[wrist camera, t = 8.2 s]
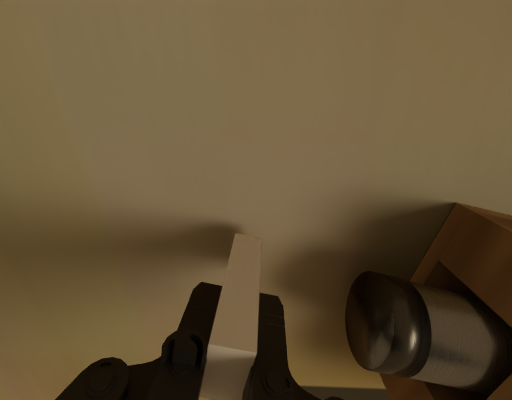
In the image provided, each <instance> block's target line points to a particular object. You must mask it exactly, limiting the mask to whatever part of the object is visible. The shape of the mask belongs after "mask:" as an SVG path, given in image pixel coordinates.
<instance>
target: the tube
mask: <svg viewBox="0 0 512 400" xmlns="http://www.w3.org/2000/svg"><path fill="white" fill-rule="evenodd" d="M345 324H346V333H347V339H348V343H349V346H350V349H351V352H352V354H353V356H354V358H355V359H356V361H357V362H358V363H359V365H361V366H362V367H363V368H364V369H367V370H370V371H374V372H379V373H384V374H388V375H393V376H397V377H402V378H412V379H417V380H421V381H426V382H431V383H435V384H440V385H444V386H449V387H453V388H458V389H462V390H467V391H472V392H476V393H481V394H485V395H491V394H492V393H493V392H494V391H495V390H496V389H497V388H498V387H499V386H500V385H501V384H502V383H503V382H504V381H505V380H506V379H507V378H508V377H509V376H510V375H511V374H512V327H511V326H509V325H508V324H507V323H506V322H505V321H504V320H503V319H502V318H501V317H500V316H499V315H498V314H496V313H495V312H494V311H493V310H492V309H491V308H490V307H489V306H488V305H487V304H486V303H485V302H483V301H482V300H481V299H480V298H479V297H475V296H471V295H467V294H462V293H458V292H454V291H449V290H445V289H441V288H436V287H432V286H428V285H423V284H419V283H415V282H410V281H407V280H404V279H402V278H397V277H393V276H389V275H384V274H380V273H376V272H371V271H366V272H363V273H362V274H360V275H359V276H358V277H357V278H356V280H355V281H354V283H353V284H352V286H351V289H350V291H349V295H348V298H347V304H346V313H345Z"/></svg>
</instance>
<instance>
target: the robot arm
mask: <svg viewBox="0 0 512 400" xmlns="http://www.w3.org/2000/svg"><path fill="white" fill-rule="evenodd" d="M260 263H261V238H256V237H251V236H246V235H242V234H237V233H235V237H234V241H233V245H232V249H231V253H230V257H229V262H228V266H227V270H226V274H225V278H224V282H223V286H220V285H214V284H209V283H204V282H201V283H199V284H198V285H197V286H196V287H195V288H194V289H193V291H192V294H191V296H190V299H189V301H188V304H187V307H186V310H185V312H184V314H183V317H182V319H181V322H180V324H179V327H178V329H177V331H175V332H174V333H172V334H171V335H170V336H168V337H167V339H166V340H165V342H164V343H163V345H162V353H161V357H159V358H158V359H156V360H154V361H151V362H147V363H143V364H137V365H131V366H127V364H126V363H125V362H124V361H123V360H121V359H118V358H114V357H110V358H103V359H101V360H98V361H96V362H94V363H92V364H91V365H89V366H88V367H87V368H86V369H85V370H83V371H82V372H81V373H80V374H79V375H78V376H77V377H76V378H75V379H74V380H73V382H72V383H71V384H70V385H69V386H68V387H67V388H66V389H65V390H64V391H63V392H62V393H61V394H60V395H59V396H58V397H57V398H56V399H55V400H198V399H199V397H204V398H209V399H215V400H320V399H319V398H317V397H315V396H313V395H312V394H310V393H308V392H306V391H305V390H304V389H302V388H301V387H300V386H299V385H298V384H297V383H296V382H295V380H294V379H293V377H292V375H291V373H290V371H289V367H288V360H287V347H286V335H285V322H284V309H283V305H282V303H281V301H280V299H279V297H278V296H274V295H269V294H264V293H259V288H260ZM325 400H343V399H341V398H339V397H330V398H328V399H325Z"/></svg>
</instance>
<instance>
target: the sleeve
mask: <svg viewBox="0 0 512 400" xmlns="http://www.w3.org/2000/svg"><path fill="white" fill-rule="evenodd" d="M410 282H415V283H419V284H423V285H428V286H432V287H436V288H441V289H445V290H449V291H454V292H458V293H462V294H467V295H471V296H475V297H479V298H480V299H481V300H482V301H483V302H485V303H486V304H487V305H488V306H489V307H490V308H491V309H492V310H493V311H494V312H495V313H496V314H498V315H499V316H500V317H501V318H502V319H503V320H504V321H505V322H506V323H507V324H508V325H509V326H511V327H512V216H510V215H505V214H501V213H497V212H493V211H489V210H485V209H481V208H476V207H472V206H468V205H464V204H460V203H456V204H455V206H454V207H453V209H452V211H451V212H450V214H449V216H448V217H447V219H446V221H445V222H444V224H443V226H442V227H441V229H440V231H439V232H438V234H437V236H436V237H435V239H434V241H433V242H432V244H431V246H430V247H429V249H428V251H427V252H426V254H425V256H424V257H423V259H422V261H421V262H420V264H419V266H418V267H417V269H416V271H415V272H414V274H413V276H412V277H411V279H410ZM380 375H381V378H382V380H383V382H384V385H385V387H386V390H387V392H388V395H389V397H390V400H512V374H511V375H510V376H509V377H508V378H507V379H506V380H505V381H504V382H503V383H502V384H501V385H500V386H499V387H498V388H497V389H496V390H495V391H494V392H493V393H492V394H491V395H485V394H481V393H476V392H472V391H467V390H462V389H458V388H453V387H449V386H444V385H440V384H435V383H431V382H426V381H421V380H417V379H412V378H402V377H397V376H393V375H388V374H384V373H380Z"/></svg>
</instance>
